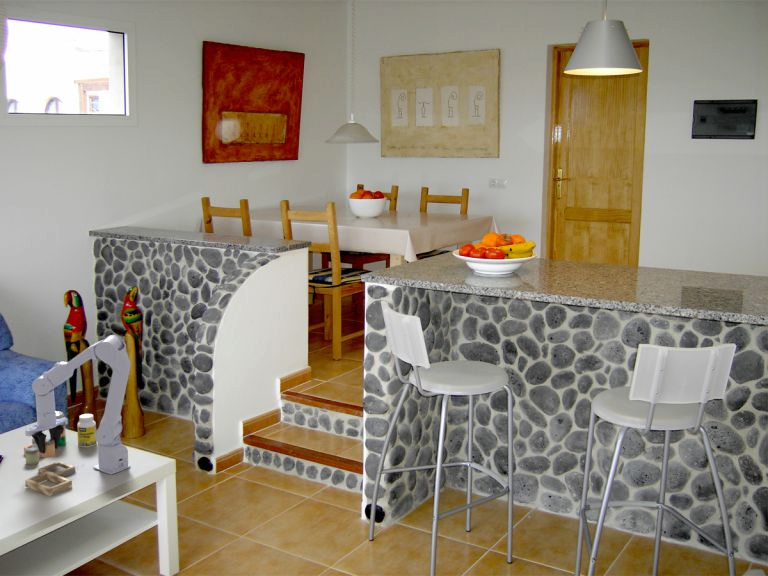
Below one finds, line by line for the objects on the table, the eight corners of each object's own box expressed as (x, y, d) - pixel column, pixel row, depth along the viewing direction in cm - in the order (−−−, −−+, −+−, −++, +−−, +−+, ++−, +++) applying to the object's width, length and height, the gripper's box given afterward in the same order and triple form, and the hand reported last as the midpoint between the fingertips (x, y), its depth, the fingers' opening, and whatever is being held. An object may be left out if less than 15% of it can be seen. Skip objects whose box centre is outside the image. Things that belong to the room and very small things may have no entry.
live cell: (57, 454, 272) (56, 440, 271) (47, 458, 269) (46, 443, 268) (50, 452, 274) (49, 437, 274) (39, 455, 271) (38, 441, 270)
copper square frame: (54, 453, 283) (53, 445, 282) (36, 460, 277) (36, 451, 276) (41, 449, 286) (41, 441, 286) (24, 455, 281) (23, 447, 280)
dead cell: (48, 452, 282) (47, 438, 281) (37, 456, 279) (36, 442, 278) (40, 450, 284) (40, 436, 283) (30, 453, 281) (29, 439, 280)
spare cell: (41, 463, 275) (40, 449, 274) (30, 467, 271) (30, 452, 270) (34, 460, 277) (33, 446, 276) (23, 464, 273) (22, 450, 272)
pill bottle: (77, 449, 287) (76, 419, 285) (78, 443, 293) (77, 413, 291) (96, 448, 289) (94, 418, 287) (97, 441, 295) (95, 412, 293)
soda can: (60, 448, 287) (59, 416, 285) (47, 447, 288) (45, 414, 286) (69, 443, 292) (67, 411, 290) (56, 442, 293) (54, 410, 291)
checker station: (93, 478, 263) (93, 472, 263) (49, 496, 250) (49, 489, 250) (60, 466, 272) (59, 459, 272) (15, 482, 259) (15, 476, 259)
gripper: (57, 403, 277) (60, 441, 280) (18, 414, 265) (21, 454, 268) (70, 407, 273) (73, 445, 276) (31, 419, 261) (34, 459, 264)
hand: (48, 450), depth 271 cm, fingers closed on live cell, 4 cm apart
